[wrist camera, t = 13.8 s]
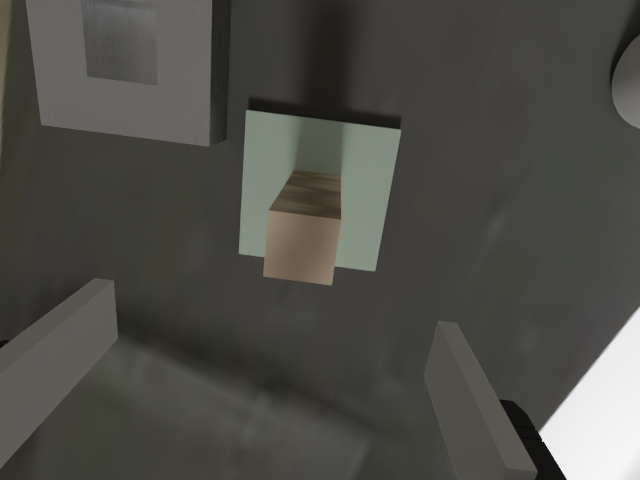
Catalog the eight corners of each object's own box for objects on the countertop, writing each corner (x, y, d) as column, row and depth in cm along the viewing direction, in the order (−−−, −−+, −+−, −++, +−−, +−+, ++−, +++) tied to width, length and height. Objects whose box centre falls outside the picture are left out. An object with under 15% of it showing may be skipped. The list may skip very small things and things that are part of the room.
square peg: (289, 214, 38) (263, 276, 25) (294, 169, 36) (268, 210, 23) (334, 220, 38) (331, 285, 25) (340, 175, 36) (341, 219, 23)
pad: (241, 250, 40) (238, 253, 39) (248, 109, 36) (246, 110, 35) (374, 267, 40) (375, 271, 39) (399, 129, 36) (401, 130, 35)
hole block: (79, 121, 37) (41, 124, 32) (63, -55, 32) (15, -82, 27) (225, 140, 37) (209, 146, 32) (231, -34, 32) (213, -57, 27)
